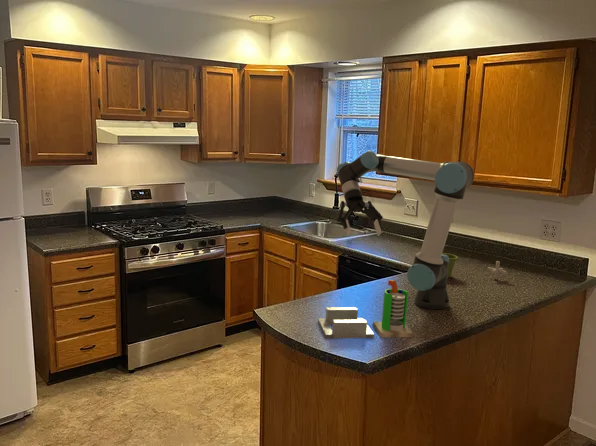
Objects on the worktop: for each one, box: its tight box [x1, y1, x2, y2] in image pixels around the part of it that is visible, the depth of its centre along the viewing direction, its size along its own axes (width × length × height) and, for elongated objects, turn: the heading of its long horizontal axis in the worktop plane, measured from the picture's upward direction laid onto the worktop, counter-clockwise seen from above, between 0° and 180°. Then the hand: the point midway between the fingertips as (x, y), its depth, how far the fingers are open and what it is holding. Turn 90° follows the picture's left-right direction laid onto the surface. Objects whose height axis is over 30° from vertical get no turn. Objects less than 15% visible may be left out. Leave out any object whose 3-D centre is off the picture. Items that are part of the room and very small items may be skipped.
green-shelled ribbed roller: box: [381, 279, 409, 331], centre depth 199 cm, size 9×8×18 cm
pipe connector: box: [487, 260, 508, 279], centre depth 278 cm, size 10×10×10 cm
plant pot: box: [442, 252, 458, 278], centre depth 282 cm, size 12×12×11 cm
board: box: [372, 321, 414, 338], centre depth 201 cm, size 12×12×2 cm
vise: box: [317, 306, 375, 339], centre depth 202 cm, size 18×21×6 cm
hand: (364, 234), depth 218 cm, fingers open, 13 cm apart
